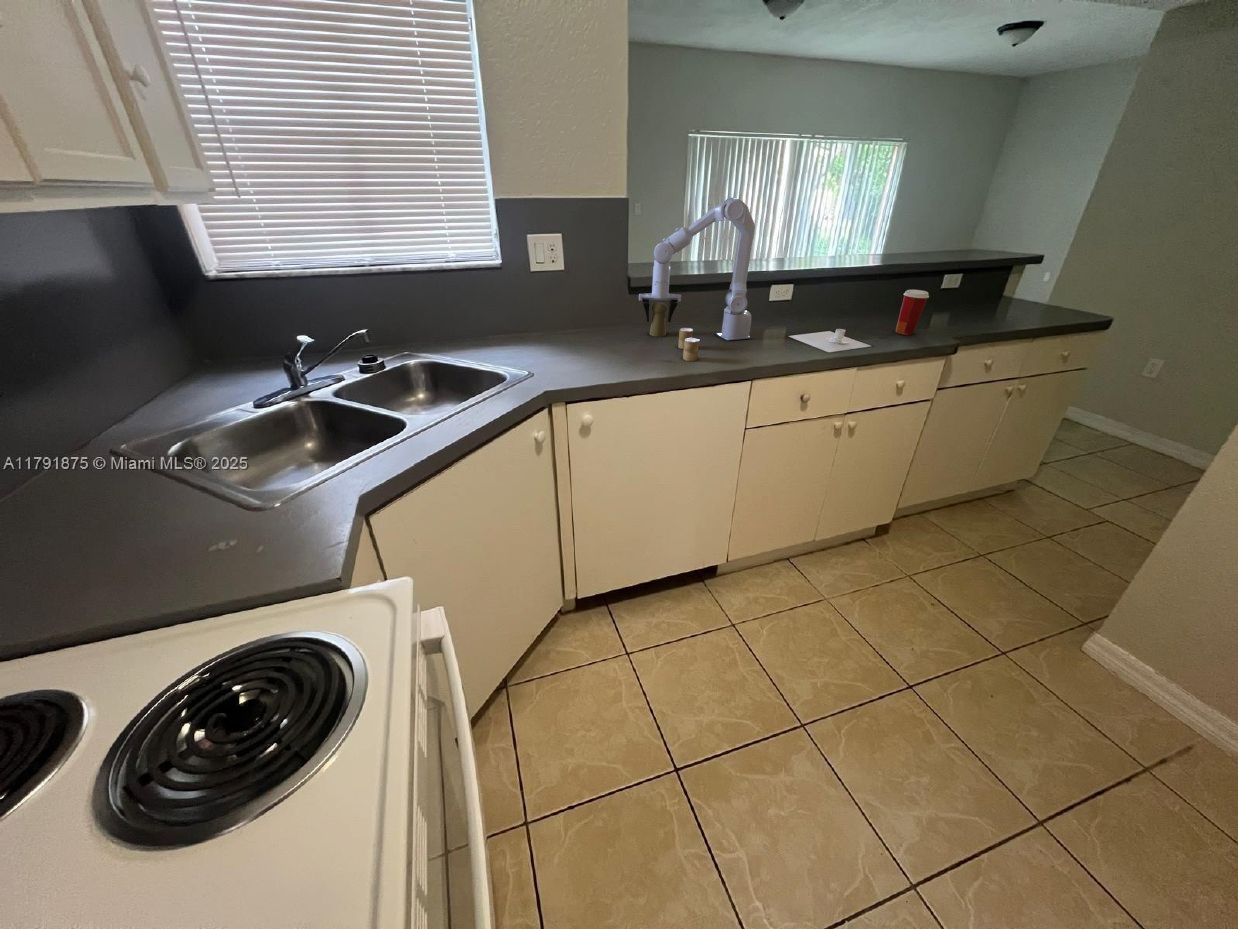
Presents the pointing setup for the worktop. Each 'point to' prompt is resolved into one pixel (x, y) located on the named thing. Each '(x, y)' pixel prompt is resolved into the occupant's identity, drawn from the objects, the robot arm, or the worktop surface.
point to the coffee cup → (911, 311)
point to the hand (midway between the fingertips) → (658, 321)
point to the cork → (658, 320)
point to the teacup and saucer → (830, 341)
